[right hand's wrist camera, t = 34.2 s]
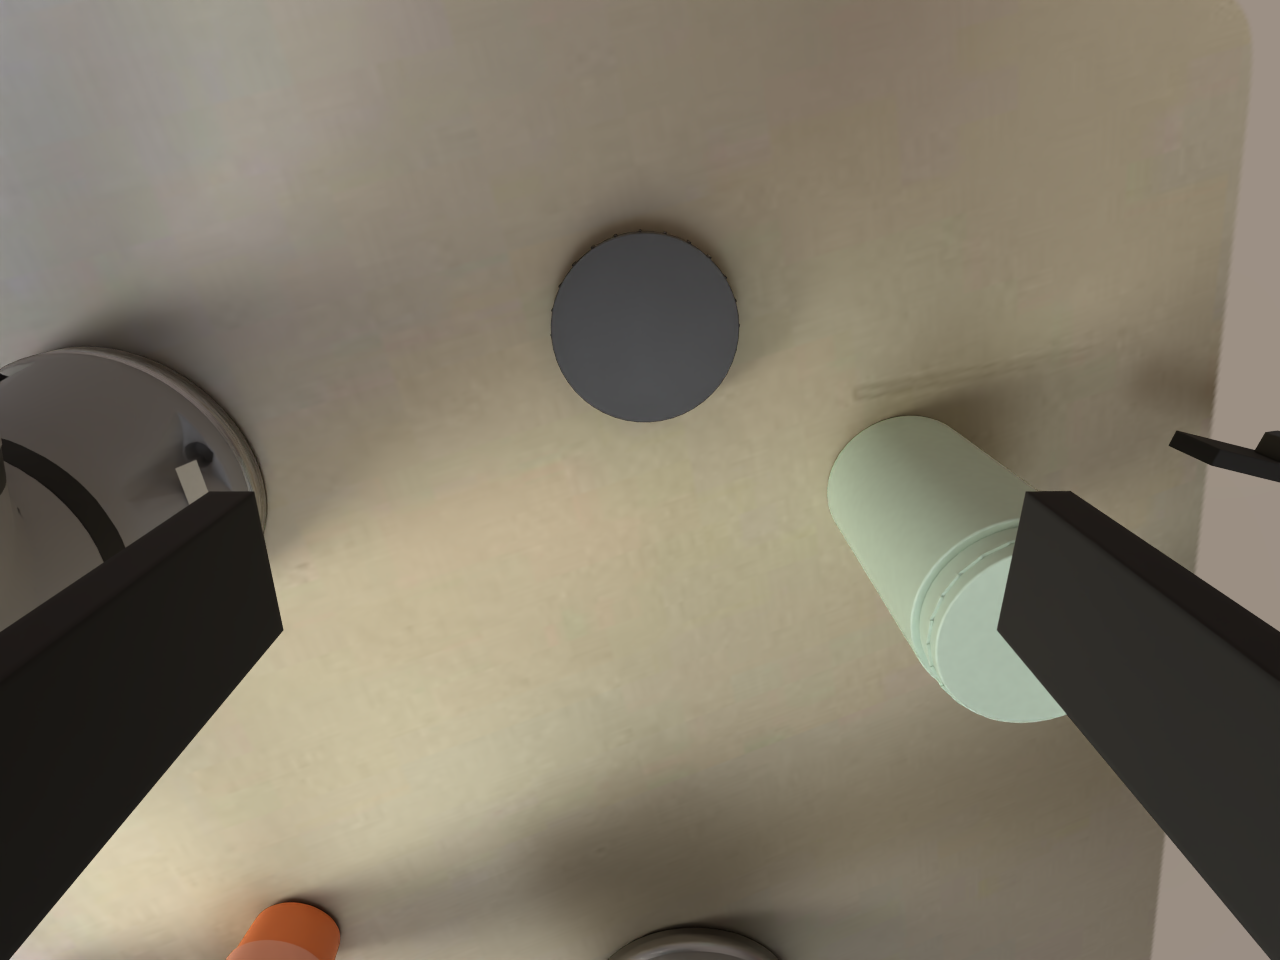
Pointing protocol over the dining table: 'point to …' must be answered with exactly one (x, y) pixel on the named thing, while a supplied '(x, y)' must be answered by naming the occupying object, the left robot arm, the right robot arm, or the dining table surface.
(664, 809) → the dining table surface
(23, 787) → the right robot arm
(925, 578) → the jar
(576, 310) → the lid
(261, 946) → the cup with straw
